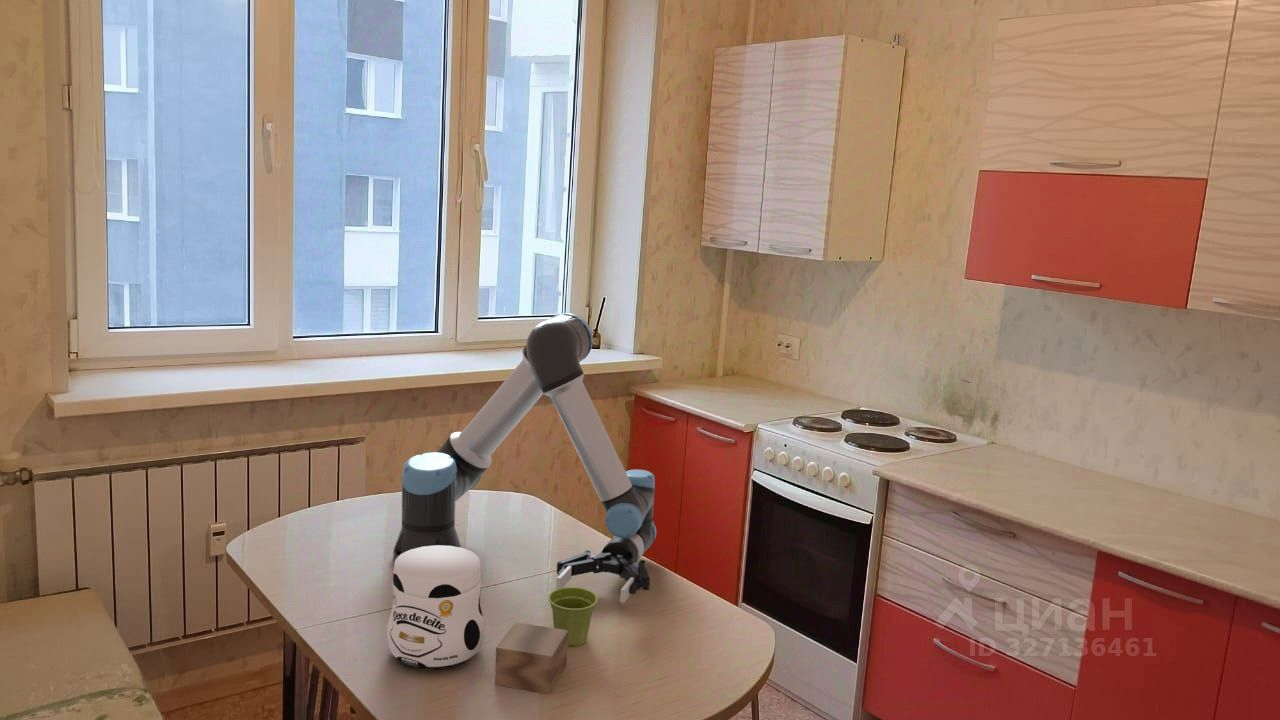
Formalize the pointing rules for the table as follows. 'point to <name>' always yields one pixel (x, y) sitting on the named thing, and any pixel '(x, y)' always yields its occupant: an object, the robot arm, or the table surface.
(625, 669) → the table surface
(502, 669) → the walnut block
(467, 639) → the milk container
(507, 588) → the table surface
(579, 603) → the plant pot
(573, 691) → the table surface
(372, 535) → the table surface
